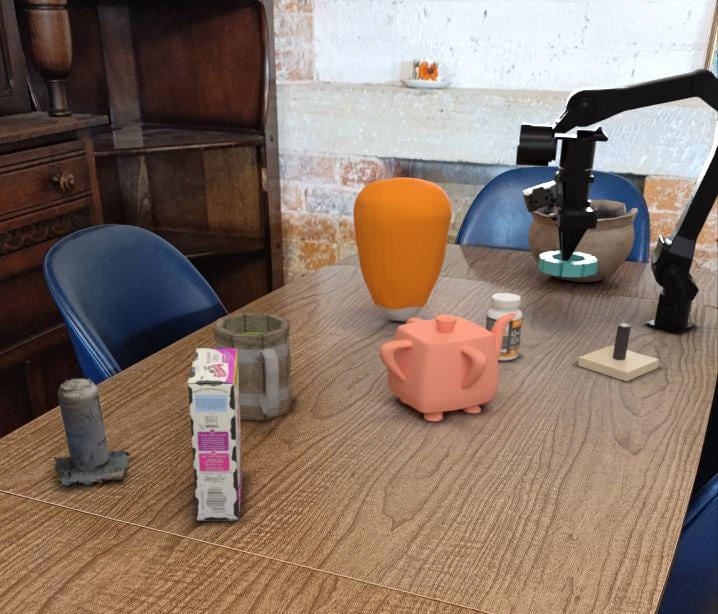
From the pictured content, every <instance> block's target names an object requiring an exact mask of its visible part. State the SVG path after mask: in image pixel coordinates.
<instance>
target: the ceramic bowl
mask: <svg viewBox="0 0 718 614" xmlns="http://www.w3.org/2000/svg"><path fill="white" fill-rule="evenodd" d="M589 200H590V201H591V204H590V209H591V210H592V211H593V212H594V213H595V214H596V216H597V217H598V219H597V226H596V228H595V229H588V230H587V231H586V233H585V234H584V236H583V237H582V239H581V241H580V242H579V244H578V246H577V247H576V249H575V251H574V252H581V253H586V254H590V255H592V256H595V257H596V259H597V260H598V264H597V271H596V273H595V274H593V275H590V276H586V277H582V276H580V277H562V276H561V275H560V276H554V275H550V274H548V275H549V276H551V277H553V278H556V279H560V280H563V281H567V282H574V283H595V282H600V281H602V280H604V279H607V278H608V277H610V276H611V275H613V274H614V273H617V271H618V270H619V268H620V267H622V265H623V264H624V263H625V261H626V260H627V259H628V258H629V256H630V254H631V252H632V250H633V246H634V241H635V237H636V236H635V228H634V221H635V219H636V217H637V215H638V213H639V210H638V208H637V207H633V208H631V209H630V210H629V211H628V212H627V207H626V203H623V202H620V201H615V200H610V199H589ZM554 210H555V207H551V210H547V208H546V207H543V208H540V209H538V210H537V211H535V212H530V214H531V217H532V218H533V219H532V221H531V224H530V227H529V228H528V229H529V230H528V236H527V239H528V240H527V241H528V248H529V251H530V253H531V255H532V257H533V259H534V261H535V262H536V263H537V264H538V261H539V255H540V254H541V253H545V252H549V251H554V252H555V251H560V247H559V237H558V228H557V226H556V225H555V223H554V221H553V220H552V219H551V217H550V215H549V214H554Z"/></svg>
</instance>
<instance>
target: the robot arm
mask: <svg viewBox="0 0 718 614" xmlns="http://www.w3.org/2000/svg"><path fill="white" fill-rule="evenodd" d="M691 98H699V99H700V100H702V101H703V102H704V103H705V104H706V105H708V106H709V107H711V108H712V109H713V110H714V111H716V112H717V113H718V77H717V76H716V75H715V74H714V73H713V72H712V71H711V70H708V69H705V68H697V69H696V70H694V71H691V72H686V73H681V74H677V75H670V76H667V77H662V78H657V79H652V80H648V81H643V82H638V83H634V84H628V85H623V86H584V87H579V88H577V89H575V90H573V91H572V92H571V93H570V95H569V96H568V97H567V101H566V103H565V109H564V111H563V112H562V113H561V114H560V116H559V117H558V118H555V122H553V124H533V123H529V122H522V123H521V124H520V130H519V139H518V143H517V146H516V156H515V157H516V158H515V160H516V161H515V166H522V167H523V166H524V167H549V166H550V165H549V164H550V163H552V162H554V161H556V160H557V150H558V144H559V143H558V142H559V141H561V146H560V153H559V163H558V171H557V170H556V171H555V173H554V174H553V180H552V181H549V182H545V183H541V184H538V185H535V186H533V187H529V188H527V189H523V190H522V196H523V201H524V204H525V208H526V210H527V213H531V212H535V211H537V210H538V209H540V208H543V207H546V208H547V210H551V207H555V210H554V214H549V215H550V217H551V219H552V220H553V221H554V223H555V225H556V226H557V228H558V237H559V247H560V251H562V259H563V261H568V260H569V259H570V257H571V256H572V254H573V252H574V251H575V249H576V247H577V246H578V244H579V242H580V241H581V239H582V237H583V236H584V234H585V233H586V231H587V230H588V229H595V228H596V226H597V219H598V217H597V216H596V214H595V213H594V212H593V211H592V210H591V209H590V204H591V201H590V200H591V199H590V193H591V186H592V184H593V183H594V181H595V176H594V175H593V168H594V164H595V163H594V162H595V154H596V147H597V142H603V143H605V142H606V143H607V142H608V141H609V137H608V134H607V133H606V132H605V131H604V130H603V127H602V125H601V124H598V123H600V122H603V121H605V120H608V119H610V118H613V117H614V116H617V115H619V114H621V113H624V112H628V111H633V110H636V109H643V108H647V107H652V106H657V105H662V104H668V103H672V102H677V101H681V100H682V101H683V100H687V99H691ZM595 124H598V125H597V126H596V127H595V128H594V129H582V128H587V127H591V126H592V125H595ZM575 128H577V129H576V131H575V132H576V134H567V133H568V132H570V131H572V130H573V129H575ZM713 137H714V138H713V142H712V146H711V151H710V153H709V155H708V157H707V159H706V160H705V163H704V165H703V168H702V170H701V171H700V174H699V176H698V178H697V181H696V182H695V185H694V187H693V189H692V191H691V193H690V196H689V198H688V200H687V202H686V204H685V207H684V209H683V210H682V213H681V214H680V217H679V219H678V220H677V221H678V222H677V223H676V225H675V228H674V229H673V230H672V232H671V233H669V235H668V236H667V238H666V237H665V236H663V235H659V236H658V239H657V243H656V246H655V248H654V250H653V251H652V252H651V253H650V254H649V258H650V260H651V263H650V267H651V272H652V275H653V277H654V280H655V282H656V283H657V284H658V286H660V287H661V288H662V289H661V290H660V291H659V295H658V300H657V306H656V312H655V316H654V319H652V320H650V321H647V322H646V323H645V324H646V326H647V327H652V328H655V329H658V330H662V331H666V332H670V333H673V334H680V333H683V332H686V331H689V330H691V329H694V328H695V327H696V323H693V322H689V320H690V315H691V311H692V305H693V301H694V300H695V298H696V297H697V295H698V294H699V291H700V289H699V287H698V285H697V283H696V281H695V279H694V277H693V276H692V274H691V273H690V271H691V268H692V265H693V261H694V256H695V253H696V252H695V251H696V246H697V242H698V241H697V240H698V238H699V236H700V234H701V232H702V230H703V228H704V225H705V224H706V221H707V219H708V217H709V215H710V213H711V211H712V209H713V207H714V205H715V203H716V200H717V198H718V122H717V123H716V127H715V131H714V136H713Z"/></svg>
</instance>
